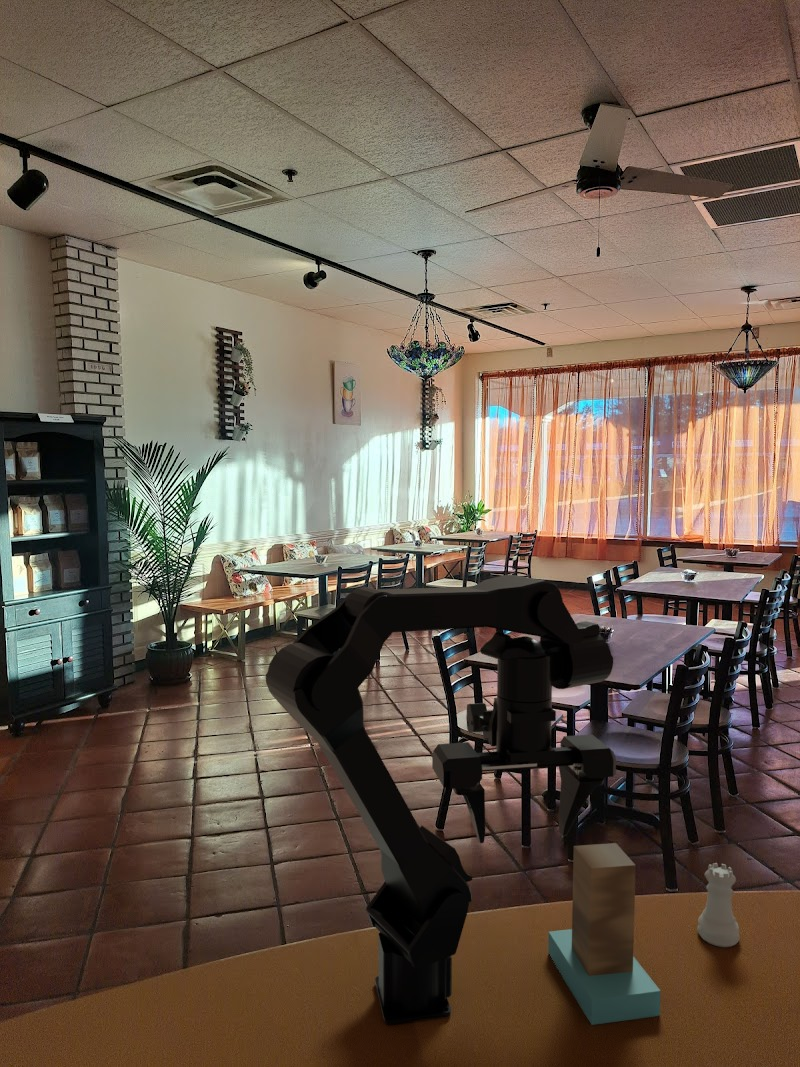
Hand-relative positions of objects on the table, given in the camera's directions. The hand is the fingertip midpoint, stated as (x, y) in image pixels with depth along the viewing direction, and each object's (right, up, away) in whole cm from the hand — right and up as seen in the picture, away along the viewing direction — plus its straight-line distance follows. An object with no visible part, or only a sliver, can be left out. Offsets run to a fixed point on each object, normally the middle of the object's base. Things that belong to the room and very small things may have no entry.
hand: (522, 837), depth 82 cm
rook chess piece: (+23, -13, +4) cm, 27 cm away
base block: (+7, -13, -4) cm, 16 cm away
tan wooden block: (+8, -11, -4) cm, 14 cm away
